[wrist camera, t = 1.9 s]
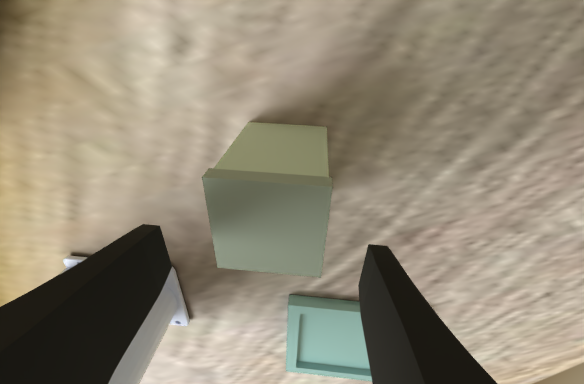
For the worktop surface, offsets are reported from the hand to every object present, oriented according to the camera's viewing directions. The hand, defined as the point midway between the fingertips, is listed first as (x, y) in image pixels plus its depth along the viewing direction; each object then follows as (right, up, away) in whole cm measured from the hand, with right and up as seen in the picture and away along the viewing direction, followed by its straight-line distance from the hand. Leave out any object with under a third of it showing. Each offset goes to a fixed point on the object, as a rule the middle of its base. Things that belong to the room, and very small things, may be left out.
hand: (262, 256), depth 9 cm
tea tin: (+1, +4, +7) cm, 8 cm away
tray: (+6, -12, +16) cm, 21 cm away
